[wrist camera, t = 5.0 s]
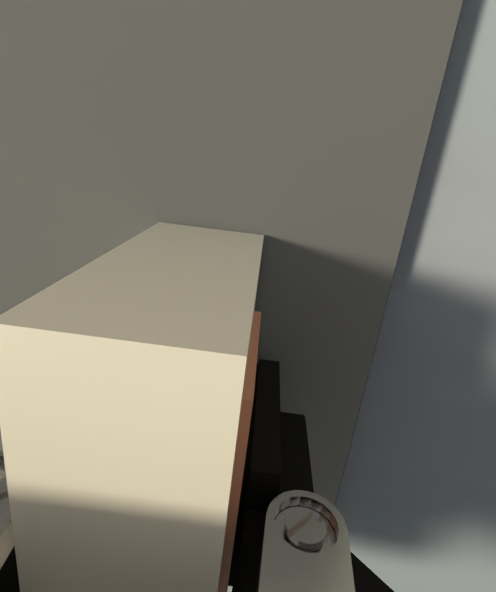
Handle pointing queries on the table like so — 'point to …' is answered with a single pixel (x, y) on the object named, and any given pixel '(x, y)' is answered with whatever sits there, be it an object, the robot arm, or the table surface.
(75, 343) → the card box
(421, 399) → the table surface
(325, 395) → the mat
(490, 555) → the table surface
